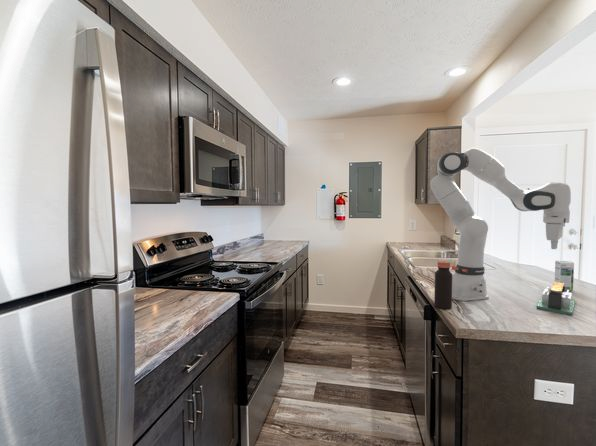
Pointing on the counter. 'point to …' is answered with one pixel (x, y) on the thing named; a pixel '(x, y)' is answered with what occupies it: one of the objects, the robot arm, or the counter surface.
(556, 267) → the syrup box
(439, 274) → the bottle
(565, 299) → the heatsink mount
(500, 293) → the counter surface
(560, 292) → the strap
